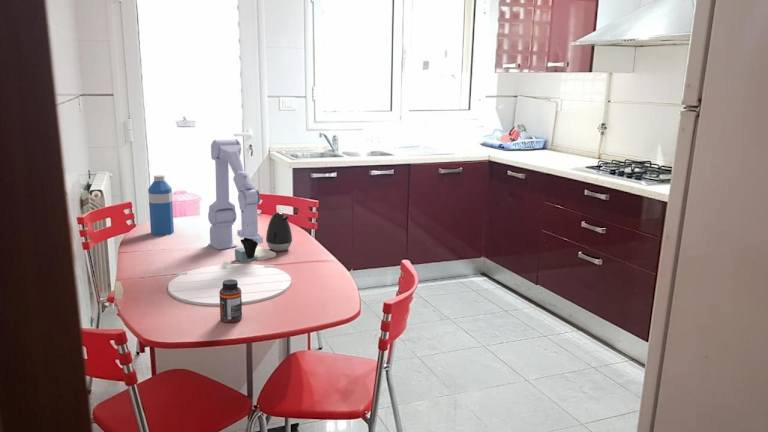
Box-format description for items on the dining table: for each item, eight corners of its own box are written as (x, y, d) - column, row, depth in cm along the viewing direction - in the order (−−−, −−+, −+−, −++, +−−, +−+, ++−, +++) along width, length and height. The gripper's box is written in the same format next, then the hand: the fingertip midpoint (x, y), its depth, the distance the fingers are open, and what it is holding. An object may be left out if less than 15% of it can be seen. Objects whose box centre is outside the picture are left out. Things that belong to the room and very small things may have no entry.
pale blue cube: (235, 259, 224) (234, 248, 223) (246, 256, 228) (246, 246, 227) (242, 262, 221) (241, 251, 220) (253, 259, 224) (253, 249, 223)
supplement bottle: (217, 317, 170) (216, 279, 167) (238, 313, 173) (237, 276, 171) (224, 325, 165) (222, 286, 163) (245, 321, 168) (244, 282, 166)
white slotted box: (237, 251, 235) (237, 247, 234) (255, 248, 240) (255, 244, 240) (257, 260, 224) (257, 256, 224) (275, 256, 229) (275, 252, 229)
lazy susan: (166, 271, 210) (166, 262, 209) (278, 262, 223) (278, 253, 223) (170, 313, 173) (169, 302, 173) (303, 299, 187) (303, 288, 186)
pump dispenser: (279, 254, 232) (278, 216, 228) (260, 249, 238) (259, 212, 235) (297, 249, 240) (297, 212, 236) (279, 244, 246) (279, 208, 243)
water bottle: (150, 231, 262) (146, 174, 256) (172, 229, 266) (169, 173, 260) (151, 236, 253) (148, 178, 248) (175, 234, 257) (172, 177, 252)
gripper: (229, 219, 220) (230, 255, 223) (250, 227, 210) (251, 264, 213) (246, 217, 225) (247, 252, 228) (267, 224, 215) (268, 261, 218)
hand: (250, 258), depth 221 cm, fingers closed
